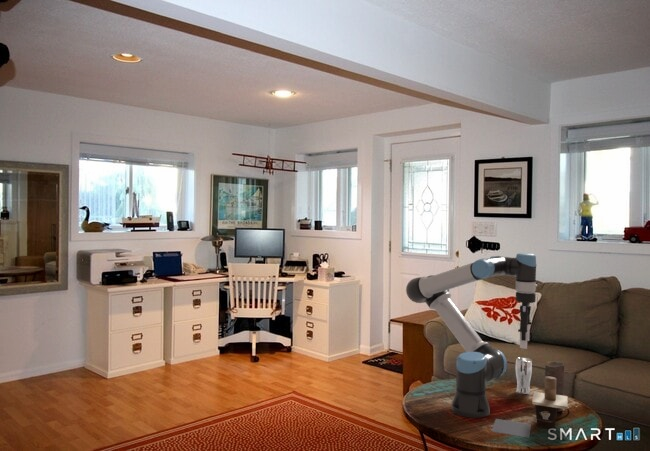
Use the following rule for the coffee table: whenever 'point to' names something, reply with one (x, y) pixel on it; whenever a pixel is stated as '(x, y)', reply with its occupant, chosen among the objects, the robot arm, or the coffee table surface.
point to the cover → (550, 396)
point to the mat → (512, 428)
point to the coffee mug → (547, 416)
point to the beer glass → (523, 375)
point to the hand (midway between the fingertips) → (524, 344)
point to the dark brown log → (556, 376)
